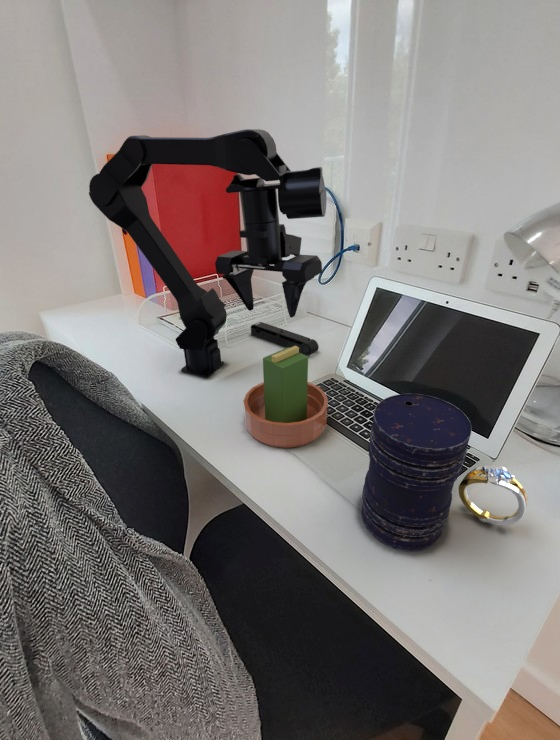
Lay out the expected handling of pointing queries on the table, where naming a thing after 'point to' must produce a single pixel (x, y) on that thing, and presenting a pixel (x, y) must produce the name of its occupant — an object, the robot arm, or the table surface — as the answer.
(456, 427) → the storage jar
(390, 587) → the table surface
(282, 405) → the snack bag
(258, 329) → the tablet stand
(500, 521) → the ring
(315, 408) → the bowl
